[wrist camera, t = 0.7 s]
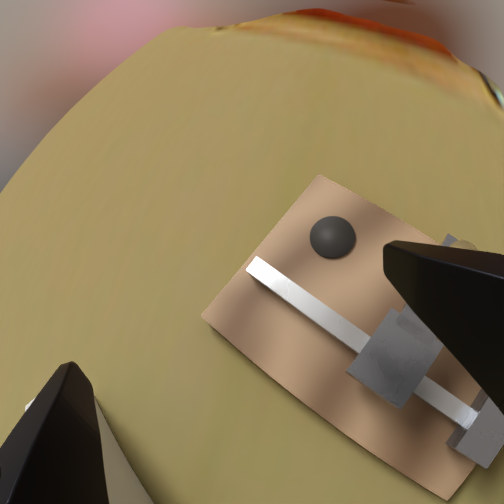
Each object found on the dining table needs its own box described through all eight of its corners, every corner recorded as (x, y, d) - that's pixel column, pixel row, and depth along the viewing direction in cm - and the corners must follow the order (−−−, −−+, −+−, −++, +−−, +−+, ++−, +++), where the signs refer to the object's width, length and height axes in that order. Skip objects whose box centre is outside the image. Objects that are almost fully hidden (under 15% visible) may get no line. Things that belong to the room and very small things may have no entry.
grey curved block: (61, 415, 23) (-4, 389, 15) (100, 396, 25) (43, 363, 17) (153, 570, 15) (113, 611, 7) (198, 552, 17) (176, 595, 9)
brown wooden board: (541, 328, 16) (550, 324, 15) (442, 496, 14) (447, 501, 13) (319, 182, 26) (318, 172, 25) (206, 319, 24) (199, 315, 22)
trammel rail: (532, 355, 15) (551, 350, 12) (471, 461, 13) (486, 469, 11) (308, 205, 24) (304, 185, 22) (237, 291, 23) (225, 279, 20)
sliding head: (458, 298, 18) (503, 255, 12) (389, 405, 17) (416, 415, 10) (416, 269, 20) (444, 215, 13) (344, 373, 18) (347, 366, 12)
